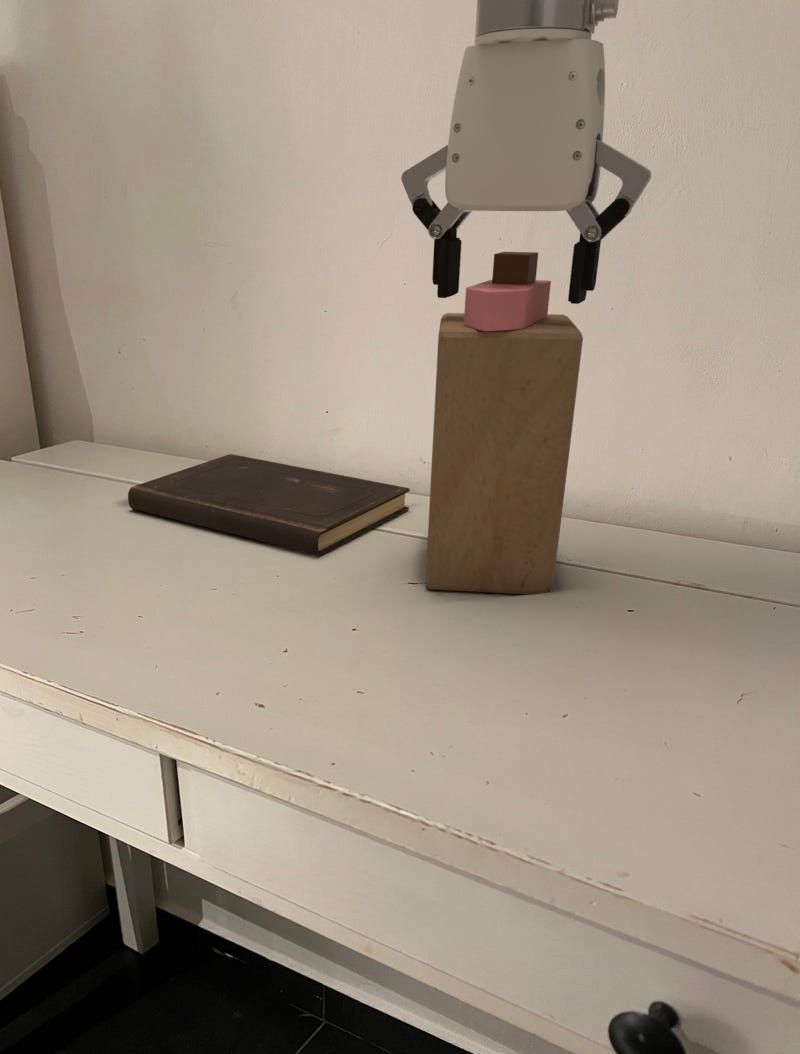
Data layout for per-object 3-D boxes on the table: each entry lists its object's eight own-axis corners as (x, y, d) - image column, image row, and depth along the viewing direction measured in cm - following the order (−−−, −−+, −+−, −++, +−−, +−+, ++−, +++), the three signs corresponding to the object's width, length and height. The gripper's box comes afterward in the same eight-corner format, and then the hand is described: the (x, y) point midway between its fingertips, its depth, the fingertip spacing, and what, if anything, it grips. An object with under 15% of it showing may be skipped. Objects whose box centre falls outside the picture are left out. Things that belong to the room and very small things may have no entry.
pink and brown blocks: (491, 313, 72) (496, 250, 70) (547, 316, 70) (554, 251, 68) (454, 329, 64) (458, 258, 62) (516, 333, 62) (522, 260, 60)
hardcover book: (231, 473, 103) (230, 453, 102) (408, 510, 91) (409, 488, 90) (128, 510, 91) (126, 488, 90) (317, 558, 79) (317, 533, 78)
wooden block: (428, 547, 82) (441, 312, 73) (542, 552, 81) (569, 313, 72) (424, 591, 73) (438, 329, 64) (552, 597, 72) (584, 331, 63)
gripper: (679, 19, 59) (639, 298, 67) (426, 37, 66) (416, 289, 74) (666, 0, 53) (624, 310, 61) (389, 22, 60) (382, 299, 67)
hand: (510, 298), depth 67 cm, fingers open, 9 cm apart
